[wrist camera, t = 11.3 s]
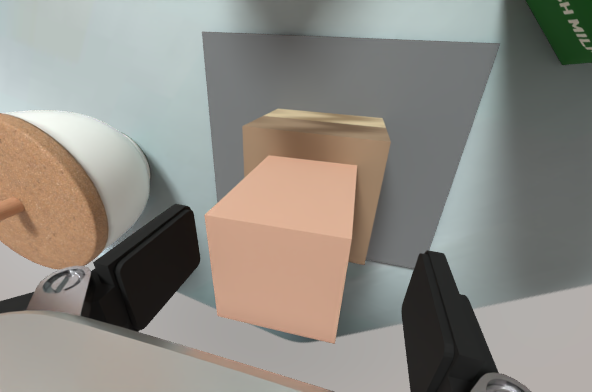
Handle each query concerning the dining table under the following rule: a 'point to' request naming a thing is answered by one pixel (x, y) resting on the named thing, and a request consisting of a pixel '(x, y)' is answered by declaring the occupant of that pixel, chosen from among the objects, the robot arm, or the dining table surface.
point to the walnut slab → (327, 160)
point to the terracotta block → (284, 246)
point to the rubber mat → (357, 113)
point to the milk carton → (566, 27)
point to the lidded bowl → (67, 186)
